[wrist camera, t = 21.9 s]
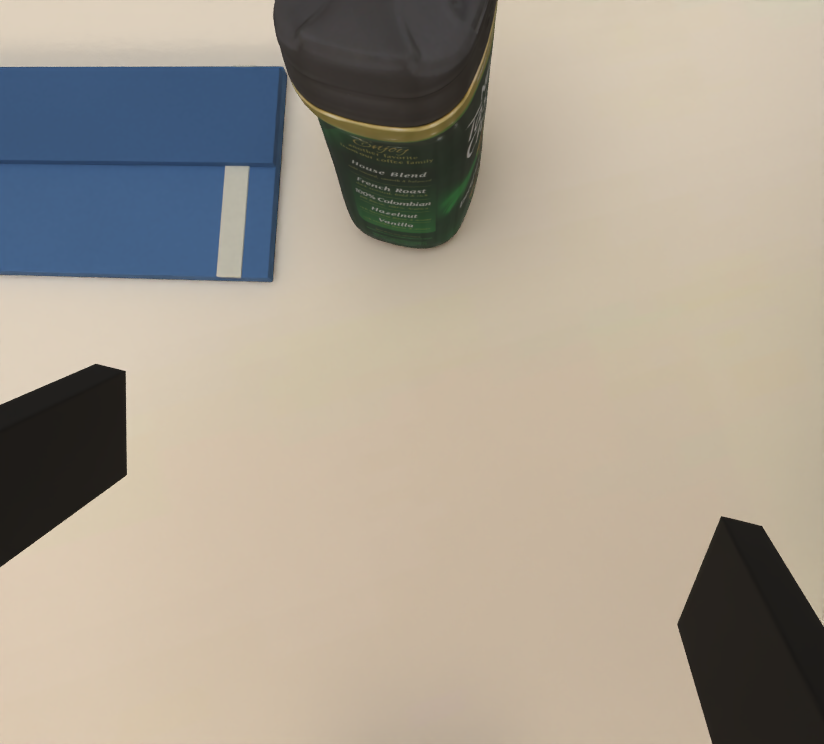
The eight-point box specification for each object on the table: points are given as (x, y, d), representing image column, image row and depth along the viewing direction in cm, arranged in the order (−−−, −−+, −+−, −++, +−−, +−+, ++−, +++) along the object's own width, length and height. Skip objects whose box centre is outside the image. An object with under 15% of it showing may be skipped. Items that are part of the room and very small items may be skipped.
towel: (287, 75, 39) (280, 60, 38) (272, 282, 38) (264, 275, 36) (-79, 75, 41) (-100, 61, 40) (-105, 272, 40) (-129, 265, 38)
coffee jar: (459, 263, 37) (462, 95, 19) (338, 236, 38) (227, 47, 19) (496, 119, 38) (534, -179, 19) (377, 95, 39) (305, -214, 20)
